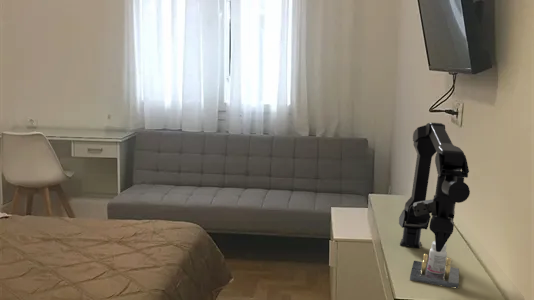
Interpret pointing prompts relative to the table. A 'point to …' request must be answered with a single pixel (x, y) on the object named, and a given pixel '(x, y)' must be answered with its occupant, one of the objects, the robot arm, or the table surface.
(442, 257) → the pill bottle
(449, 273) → the grey pegged plate
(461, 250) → the table surface
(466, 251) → the table surface
